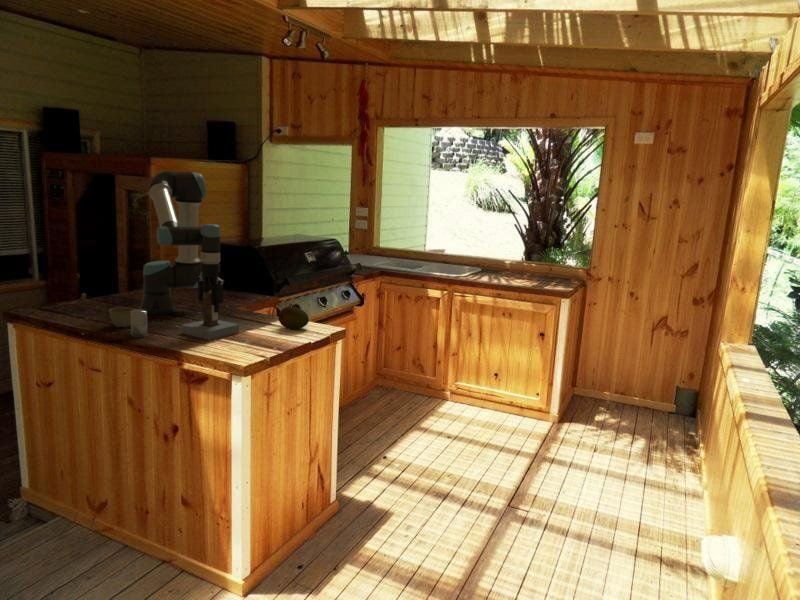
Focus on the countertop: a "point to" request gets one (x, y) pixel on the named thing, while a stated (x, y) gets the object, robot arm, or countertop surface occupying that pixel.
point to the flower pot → (121, 316)
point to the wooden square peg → (208, 310)
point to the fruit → (293, 318)
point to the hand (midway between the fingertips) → (210, 319)
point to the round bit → (138, 323)
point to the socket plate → (210, 329)
